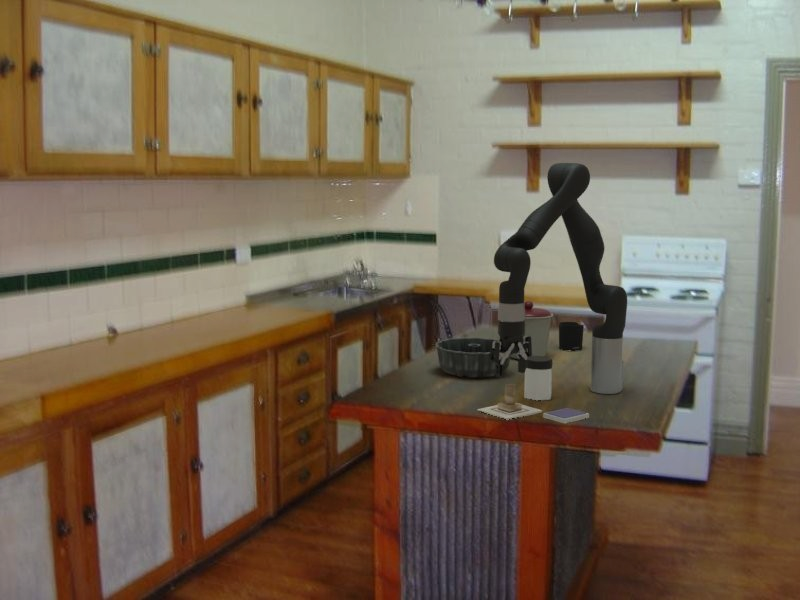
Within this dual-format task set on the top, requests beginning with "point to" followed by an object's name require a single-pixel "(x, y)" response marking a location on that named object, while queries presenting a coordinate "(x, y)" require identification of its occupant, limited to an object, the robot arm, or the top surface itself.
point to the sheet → (502, 414)
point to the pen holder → (570, 336)
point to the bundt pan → (467, 357)
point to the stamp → (510, 400)
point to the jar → (538, 378)
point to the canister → (536, 328)
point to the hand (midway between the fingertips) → (510, 374)
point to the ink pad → (565, 415)
